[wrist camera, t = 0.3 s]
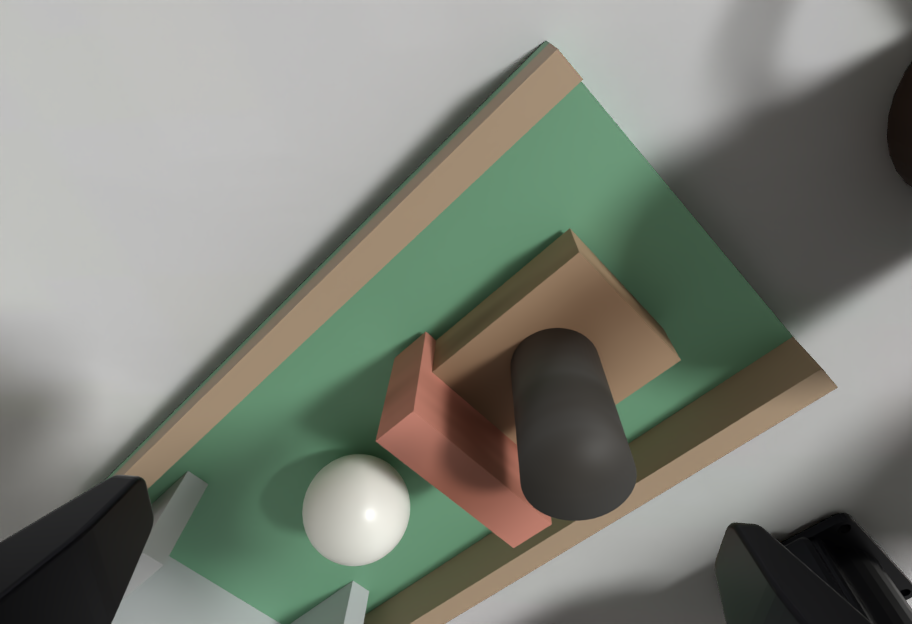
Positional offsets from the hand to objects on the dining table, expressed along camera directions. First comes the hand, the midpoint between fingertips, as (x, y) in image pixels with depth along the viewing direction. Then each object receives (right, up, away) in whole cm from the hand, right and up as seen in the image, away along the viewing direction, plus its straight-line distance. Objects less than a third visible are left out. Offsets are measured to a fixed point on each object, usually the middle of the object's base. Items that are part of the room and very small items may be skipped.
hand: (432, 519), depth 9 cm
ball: (-3, -4, +13) cm, 14 cm away
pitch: (-2, -1, +15) cm, 15 cm away
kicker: (+3, +2, +12) cm, 12 cm away
